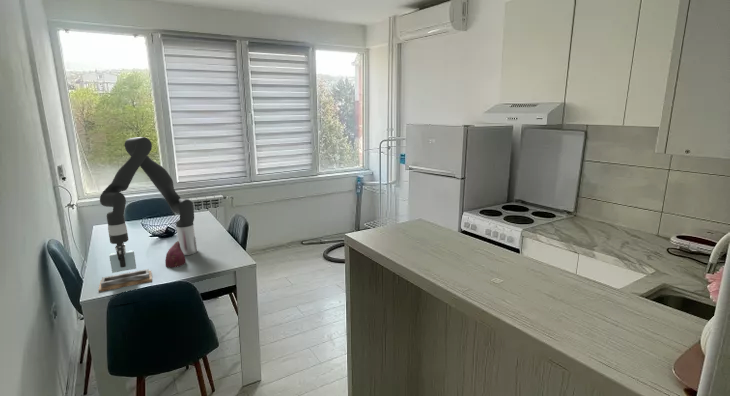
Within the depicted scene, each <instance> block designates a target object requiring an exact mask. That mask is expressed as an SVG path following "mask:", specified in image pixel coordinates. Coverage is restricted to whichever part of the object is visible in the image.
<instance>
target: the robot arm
mask: <svg viewBox="0 0 730 396" xmlns="http://www.w3.org/2000/svg"><path fill="white" fill-rule="evenodd" d="M124 147H125V151H126V152H127V154H128V155H129V156H130V157H129V158H128V160H127V161H126V162H125V163H124V164H123V165H122V166H121V167H120V168H119V169H118V170H117V172H116V173H115V175H114V177H113V179H112V181H111V183H109V184H108V186H106V188H105V189H104V190H103V191H102V192H101V194H100V197H99V203H100V204H101V206H104V207H107V208H113V209H112V211H109V212H107V213H106V221H107V230H108V231H107V232H108V237H109V242H110V244H112V245H115V246H114V248H115V249H114V250H115V251H116V252H115V253H117V256H118V260H119V261H120V267H121V268H122V267H126V263H125V256H124V255H125V251H127V250H126V243H127V242H129V234H128V227H127V225H126V219H125V212H126V211H125V209H126V203H127V200H126V196H125V195H124V194H123V193H122V192H124V191H127V190H128V189H129V186H130V185H131V183H132V180H133V178H134V176H135V175H136V173H137V171H138V170H139V169H140V168H141V169H142V171H143V172H144V173H145V174H146V176H147V177H148V178H149V179H150V181H151V183H152V184H153V185H154V186H155V188H156V189H157V190H158V192H159V193H160V194H161V195H162V197H163V198H164V199H165V201H166V202H167V204H168V206H169V208H170V209H171V211H172V212H173V213H175V214H178V215H179V219H178V220H176V222H175V227H176V233H177V241H178V242H179V243H180V247H181V250H182V252H183V254H184V256H191V255H193V254H196V253H198V247H197V246H198V245H197V238H196V233H195V226H194V225H195V224H194V221H195V208H194V204H193V201H191V199H187V198H182V197H181V196H180V195H179V194H178V193H177V191H176V190H175V186H174V182H173V179H172V176H171V174H169V172H168V171H167V170H166V169H165V168H164V167H163V166H162V165H160V164H159V163H157V162H155V161H154V160H153V159H151V158H150V156H149V154H150V153H151V151H152V149H153V144H152V141H151V140H150V139H149V138H148V137H146V136H145V137H144V136H139V137H130V138H127V139H126V140H125V142H124ZM120 257H122V258H120Z"/></svg>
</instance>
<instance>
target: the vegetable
mask: <svg viewBox="0 0 730 396" xmlns="http://www.w3.org/2000/svg"><path fill="white" fill-rule="evenodd" d="M165 255H166V256H165V262H164V263H165V267H167V268H171V269H172V268H180V267H181V266H184V265H185V264H186V262H187V261H186V257H185V255H184V254H183V252H182V250H181V247H180V243H179V242H178V240H177V241H176V242H174V244H172V246H171V247H170V248H169V249H168V251H166V254H165Z"/></svg>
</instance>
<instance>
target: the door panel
mask: <svg viewBox="0 0 730 396" xmlns="http://www.w3.org/2000/svg"><path fill="white" fill-rule="evenodd" d="M108 256H109V261H110V268H111V273H112V274H114V273H120V272H125V271H129V270H130V271H131V270H136V269H137V262H136V255H135V250H134V249H131V250H126V251H125V255H124V256H125V263H126V267H122V268H121V267H120V261H119V260H118V256H117V252H113V253H111V252H110V253H109V255H108ZM120 258H122V257H120Z"/></svg>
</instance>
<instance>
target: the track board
mask: <svg viewBox="0 0 730 396" xmlns="http://www.w3.org/2000/svg"><path fill="white" fill-rule="evenodd" d="M149 282H153V276H152V270H149V268H146V269H141V270H135V271H129V272H125V273H121V274H115V275H110V276H105V277H101V280H100V282H99V285H98V286H99V287H98V292H99V291H102V292H106V290H107V291H111V289H112V290H116V289H120V288H126V287H129V286H135V285H140V284H145V283H149Z"/></svg>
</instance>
